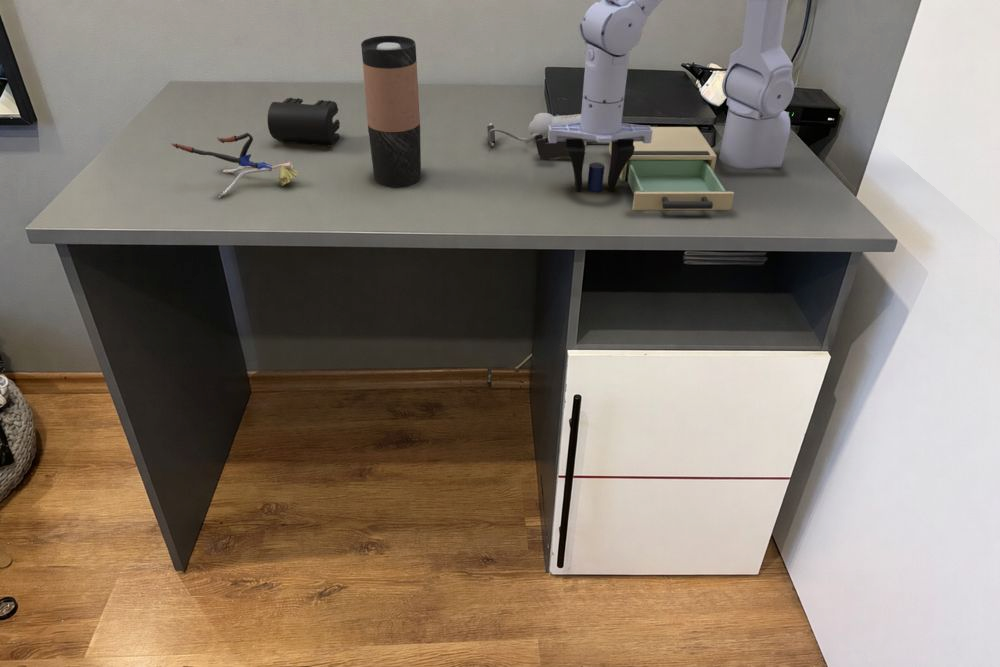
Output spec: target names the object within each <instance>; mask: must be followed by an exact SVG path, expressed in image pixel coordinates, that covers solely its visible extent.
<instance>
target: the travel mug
mask: <svg viewBox="0 0 1000 667" xmlns="http://www.w3.org/2000/svg"><path fill="white" fill-rule="evenodd" d="M360 47H361V56H362V70H363V84H364V95H365V97H364V98H365V107H366V117H367V118H366V121H367V130H368V138H369V148H370V156H371V162H372V171H373V177H374V181H375V182H376V183H377V184H379V185H381V186H384V187H389V188H404V187H408V186H412V185H414V184H416V183H418V182H419V181H420V180H421V175H422V166H421V165H422V158H421V157H422V153H421V150H422V149H421V114H420V112H421V111H420V99H419V98H420V97H419V96H420V95H419V80H418V62H417V46H416V42H415V40H414V39H413V38H410V37H406V36H402V35H401V36H400V35H379V36H378V35H377V36H373V37H368V38H366V39H364V40H363V41H362V42H361V43H360Z"/></svg>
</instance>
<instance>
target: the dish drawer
mask: <svg viewBox="0 0 1000 667" xmlns="http://www.w3.org/2000/svg"><path fill="white" fill-rule="evenodd" d="M650 127H651V128H652V130H653V132H652V139H651V143H643V142H634V143H633V145H634V147H635V149H634V153H633V155H632V156H631V158H630V159H629V160H706V162H707V163H708V165H709V166H710V168H711V169H712V171H713V172H714V173H715V169H716V162H717V158H718V156H717V154H716V153H715V151H714V149H713V148H712V147H711V145H710V144H709V142H708V141H707V139H706V138H705V136H703V134H702V132H701V131H700V129H699V128H698V127H697V126H650ZM611 148H612V141H611V142H610V143H608V152H609V154H610V155H611ZM626 168H627V163H626V165H625V166H624V168H623V170H622V172H621V174H620V176H619V180H620V181H622V182H623V181H624V182H625V181H626Z"/></svg>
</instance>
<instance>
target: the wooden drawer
mask: <svg viewBox="0 0 1000 667" xmlns="http://www.w3.org/2000/svg"><path fill="white" fill-rule="evenodd" d="M625 179H626V180H627V183H628V184H629V187H630V189H631V192H632V195H633V200H632V207H631V208H632V211H731V210H732V206H733V201H734V197H735V192H734V191H726V188H725V187H724V186H723V184H722V183H721V182H720V180H719V178H718V177H717V175H716V174H715V171H714V172H713V171H712V169H711V168H710V166H709V165H708V163H707V162H706V160H628V162H627V168H626V176H625Z"/></svg>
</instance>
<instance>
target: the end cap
mask: <svg viewBox="0 0 1000 667" xmlns="http://www.w3.org/2000/svg"><path fill="white" fill-rule="evenodd" d="M303 102H304V100H303V98H299V97H297V98H295V97H294V98H293V97H287V98H285V99H284V100H283V101H272V103H271V104H270V105H269V108H268V111H267V127H268V132H269V134H270V136H271V137H272V138H273V139H274V140H276V141H278V142H279V143H285V144H286V143H287V144H298V145H300V144H301V145H312V146H323V147H333V146H334V145H335V144H336V143H337V142H338V140H340V133H338V132H337V131H339V129H340V124H341V122H340V119H335V121H333V120H334V119H333V118H334V117H335V116H336V115H337V114H338V113H339V108H338V104H337V102H335V101H334V100H333V101H332V100H330V99H329V100H323V99H321V100H317V101H316V103H314V104H307V103H303Z"/></svg>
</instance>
